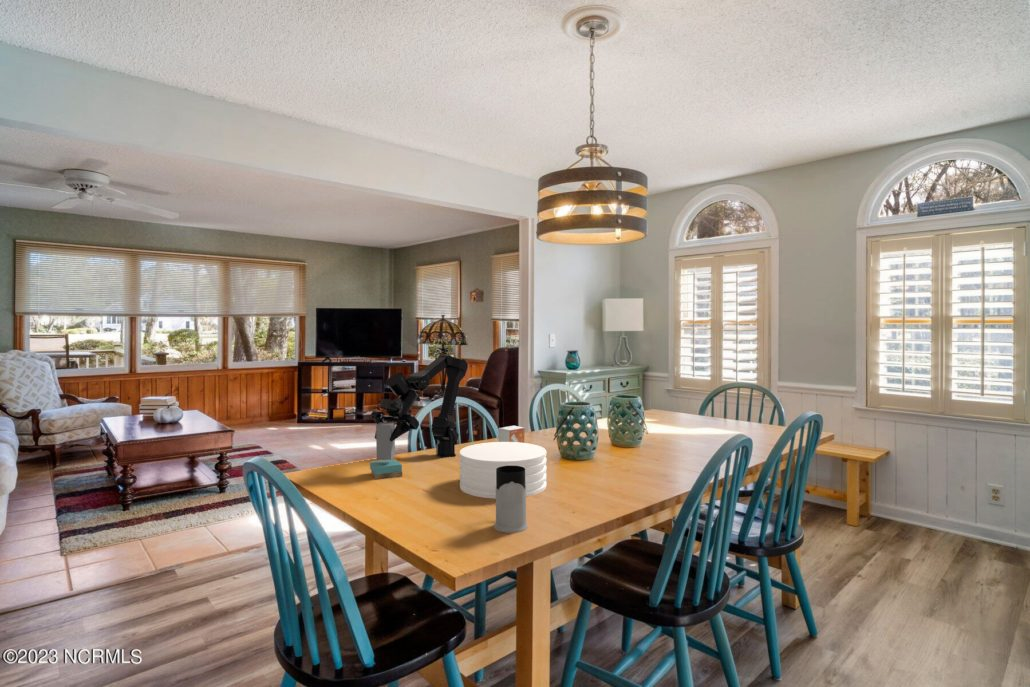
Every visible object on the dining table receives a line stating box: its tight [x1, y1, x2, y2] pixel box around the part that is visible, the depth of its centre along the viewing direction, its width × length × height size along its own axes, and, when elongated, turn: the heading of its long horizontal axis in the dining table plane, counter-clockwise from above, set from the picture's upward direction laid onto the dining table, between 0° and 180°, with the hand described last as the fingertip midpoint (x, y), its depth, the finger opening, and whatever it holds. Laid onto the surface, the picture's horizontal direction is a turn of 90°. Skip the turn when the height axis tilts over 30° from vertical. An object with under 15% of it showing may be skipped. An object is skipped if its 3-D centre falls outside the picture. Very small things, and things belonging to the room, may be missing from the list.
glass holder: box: [493, 466, 529, 534], centre depth 150 cm, size 9×14×15 cm, turn 5°
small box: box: [497, 425, 525, 443], centre depth 216 cm, size 8×6×13 cm
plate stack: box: [459, 441, 547, 500], centre depth 185 cm, size 28×28×12 cm
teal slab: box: [369, 458, 403, 475], centre depth 198 cm, size 9×9×2 cm
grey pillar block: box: [375, 422, 396, 461], centre depth 198 cm, size 5×5×12 cm
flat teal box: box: [370, 469, 403, 481], centre depth 198 cm, size 9×9×2 cm
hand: (382, 439), depth 197 cm, fingers closed on grey pillar block, 6 cm apart
